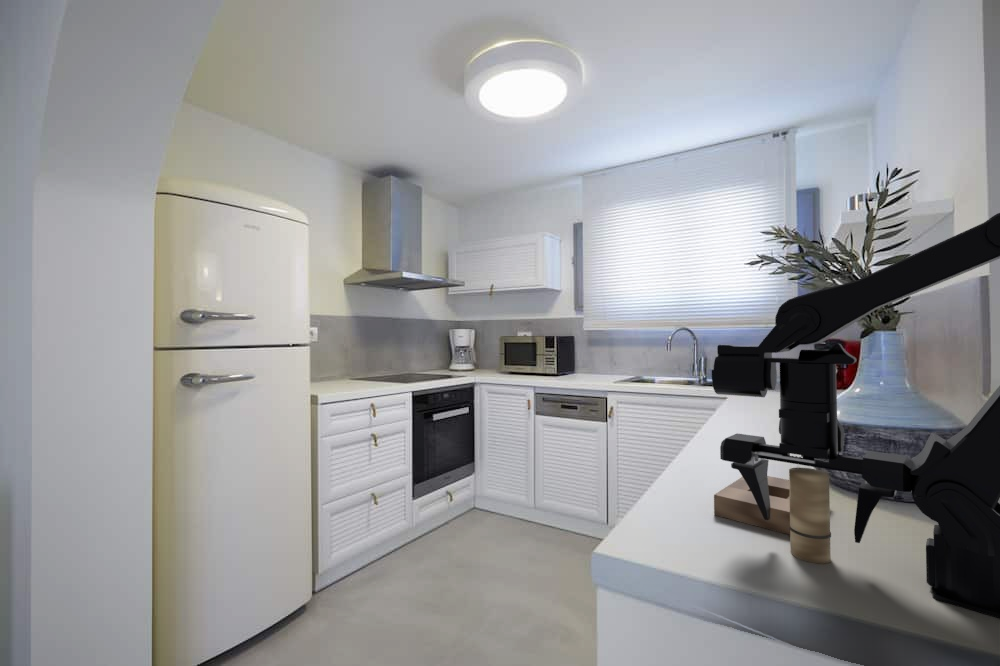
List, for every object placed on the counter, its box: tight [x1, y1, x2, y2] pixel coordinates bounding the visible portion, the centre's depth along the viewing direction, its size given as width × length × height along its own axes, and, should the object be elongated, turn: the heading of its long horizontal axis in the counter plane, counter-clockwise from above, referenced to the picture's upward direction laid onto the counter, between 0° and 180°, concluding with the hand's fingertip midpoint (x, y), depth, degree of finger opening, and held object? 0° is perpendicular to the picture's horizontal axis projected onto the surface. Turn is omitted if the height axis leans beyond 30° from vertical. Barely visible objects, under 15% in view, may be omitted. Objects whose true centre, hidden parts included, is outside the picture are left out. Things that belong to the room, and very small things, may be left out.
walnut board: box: [713, 475, 790, 536], centre depth 69 cm, size 11×16×3 cm
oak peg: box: [788, 467, 832, 565], centre depth 55 cm, size 4×4×10 cm
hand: (809, 530), depth 55 cm, fingers open, 9 cm apart
